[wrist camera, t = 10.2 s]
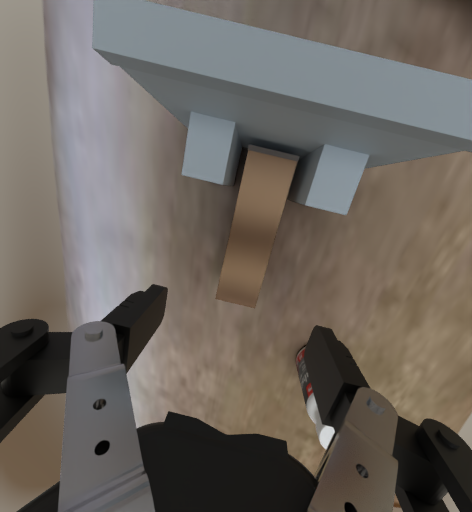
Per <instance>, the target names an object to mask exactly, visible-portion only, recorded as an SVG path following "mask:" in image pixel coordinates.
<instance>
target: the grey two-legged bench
mask: <svg viewBox="0 0 472 512" xmlns="http://www.w3.org/2000/svg"><path fill="white" fill-rule="evenodd" d="M92 48H93V49H94V50H95V51H96V52H98V53H99V54H100V55H101V56H102V57H103V58H104V59H106V60H107V61H108V62H109V63H110V64H112V65H116V66H120V67H121V68H122V69H123V70H124V71H125V72H126V73H128V74H129V75H130V76H131V77H132V78H133V79H134V80H135V81H136V82H137V83H139V84H140V85H141V86H142V87H143V88H144V89H145V90H146V91H147V92H148V93H150V94H151V95H152V96H153V97H154V98H155V99H156V100H157V101H158V102H159V103H160V104H162V105H163V106H164V107H165V108H166V109H167V110H168V111H169V112H170V113H171V114H173V115H174V116H175V117H176V118H177V119H178V120H179V121H180V122H181V123H182V124H184V125H185V126H186V127H187V128H188V134H187V141H186V148H185V154H184V161H183V168H182V175H184V176H188V177H192V178H196V179H201V180H205V181H209V182H213V183H217V184H221V185H228V186H234V182H235V177H236V173H237V168H238V164H239V159H240V155H241V150H242V147H245V148H248V146H249V144H250V145H255V146H259V147H263V148H267V149H271V150H276V151H280V152H284V153H288V154H293V155H297V156H299V160H298V163H297V166H296V170H295V173H294V177H293V180H292V183H291V187H290V190H289V194H288V197H287V199H288V200H291V201H294V202H297V203H300V204H303V205H306V206H311V207H315V208H319V209H323V210H327V211H331V212H335V213H339V214H343V215H347V212H348V210H349V207H350V205H351V202H352V199H353V197H354V194H355V192H356V189H357V186H358V184H359V181H360V179H361V176H362V173H363V171H364V169H365V168H371V167H376V166H382V165H387V164H393V163H398V162H404V161H410V160H415V159H421V158H426V157H432V156H438V155H443V154H449V153H454V152H460V151H469V152H472V80H471V79H467V78H463V77H459V76H455V75H451V74H446V73H442V72H438V71H434V70H430V69H426V68H422V67H418V66H413V65H409V64H405V63H401V62H397V61H393V60H389V59H384V58H380V57H376V56H372V55H368V54H364V53H360V52H356V51H351V50H347V49H343V48H339V47H335V46H331V45H327V44H323V43H318V42H314V41H310V40H306V39H302V38H298V37H294V36H290V35H285V34H281V33H277V32H273V31H269V30H265V29H261V28H256V27H252V26H248V25H244V24H240V23H236V22H232V21H228V20H223V19H219V18H215V17H211V16H207V15H203V14H199V13H195V12H190V11H186V10H182V9H178V8H174V7H170V6H166V5H162V4H157V3H153V2H149V1H145V0H94V4H93V42H92Z"/></svg>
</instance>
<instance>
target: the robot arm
mask: <svg viewBox="0 0 472 512" xmlns="http://www.w3.org/2000/svg"><path fill="white" fill-rule="evenodd" d="M167 292H168V289H167V287H163V286H159V285H155V284H153V285H151V286H150V287H149V288H148V289H147V290H146V291H145V292H143V291H138V292H136V293H133V294H131V295H130V296H129V297H128V298H126V299H125V301H123V302H122V303H121V304H120V305H119V306H117V307H116V308H115V309H114V310H113V311H112V312H110V313H109V314H108V315H107V316H106V317H105V318H104V319H102V320H101V321H95V322H89V323H86V324H83V325H81V326H79V327H78V328H76V329H75V330H74V331H73V332H49V326H48V324H47V323H46V322H45V321H43V320H39V319H26V320H20V321H16V322H13V323H10V324H7V325H5V326H3V327H2V328H0V443H1V442H2V440H3V439H4V438H5V437H6V436H7V435H8V434H9V433H10V432H11V431H12V430H13V429H14V427H15V426H16V425H17V424H18V423H19V422H20V421H21V420H22V419H23V418H24V417H25V416H26V414H27V413H28V412H29V411H30V410H31V409H32V408H33V407H34V406H35V404H37V403H38V402H39V400H40V399H41V398H42V397H43V396H44V395H45V394H57V393H58V394H59V393H66V404H65V418H64V432H63V448H62V461H61V475H60V481H59V482H58V483H56V484H55V485H53V486H52V487H51V488H49V489H48V490H46V491H45V492H43V493H42V494H41V495H39V496H38V497H36V498H35V499H34V500H32V501H31V502H29V503H28V504H26V505H25V506H24V507H22V508H21V509H20V510H18V511H17V512H392V510H393V503H394V495H395V494H396V496H397V498H398V501H399V503H400V506H401V508H402V510H403V512H449V510H448V509H447V507H446V505H445V503H444V501H443V500H442V498H443V497H444V496H445V495H446V494H447V493H448V492H449V494H450V496H451V498H452V499H453V501H454V502H455V504H456V506H457V508H458V509H459V511H460V512H472V450H471V449H470V447H469V446H468V445H467V444H466V442H465V441H464V440H463V439H462V438H461V437H460V436H459V435H458V434H456V433H455V432H454V431H453V430H451V429H450V428H449V427H447V426H446V425H444V424H442V423H440V422H438V421H436V420H433V419H424V420H423V422H422V423H421V425H420V426H418V425H416V424H414V423H412V422H410V421H408V420H406V419H404V418H402V417H400V416H398V414H397V412H396V410H395V408H394V407H393V405H392V404H391V403H390V402H389V401H388V400H387V399H386V398H385V397H384V396H382V395H381V394H380V393H378V392H376V391H375V390H372V389H370V387H369V385H368V383H367V382H366V380H365V378H364V376H363V375H362V373H361V371H360V369H359V367H358V366H357V364H356V362H355V360H354V359H353V357H352V355H351V353H350V352H349V350H348V349H347V348H346V347H345V346H344V345H343V344H342V343H341V341H338V340H337V338H336V336H335V335H334V333H333V331H332V329H330V328H326V327H322V326H318V325H316V326H315V327H314V328H313V331H312V333H311V336H310V338H309V341H308V343H307V345H306V348H305V351H304V362H305V365H306V369H307V372H308V376H309V379H310V383H311V386H312V390H313V394H314V397H315V401H316V404H317V408H318V411H319V415H320V418H321V422H322V425H326V426H330V427H333V428H334V431H335V433H334V434H333V436H332V438H331V440H330V443H329V445H328V447H327V449H326V451H325V453H324V456H323V458H322V460H321V462H320V464H319V466H318V469H317V471H316V473H315V475H314V476H313V475H312V474H311V472H310V471H309V470H308V469H307V468H306V467H305V466H304V465H302V464H301V463H300V462H299V461H298V460H296V459H295V458H294V457H292V456H291V455H289V454H288V451H287V442H286V441H284V440H280V439H276V438H272V437H268V436H264V435H260V434H239V435H226V434H224V433H222V432H220V431H218V430H217V429H215V428H213V427H211V426H210V425H208V424H206V423H204V422H203V421H201V420H199V419H197V418H193V417H189V416H185V415H181V414H177V413H173V412H169V411H168V414H167V416H166V419H165V422H157V423H151V424H148V425H144V426H142V427H139V428H137V429H136V424H135V419H134V413H133V408H132V402H131V397H130V391H129V386H128V381H127V375H126V374H127V372H128V371H129V369H130V368H131V366H132V365H133V363H134V362H135V360H136V359H137V358H138V356H139V355H140V353H141V352H142V350H143V349H144V347H145V346H146V344H147V343H148V341H149V340H150V339H151V337H152V336H153V334H154V333H155V331H156V330H157V328H158V327H159V325H160V324H161V322H162V319H163V317H164V312H165V306H166V299H167Z"/></svg>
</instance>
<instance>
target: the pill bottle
mask: <svg viewBox="0 0 472 512" xmlns="http://www.w3.org/2000/svg"><path fill="white" fill-rule="evenodd" d="M305 348H306V346H305V347H304V348H303V349H301V350H300V352H299V353H298V355H297V358H296V366H297V370H298V375H299V379H300V383H301V387H302V391H303V396H304V400H305V404H306V408H307V412H308V414H309V416H310V418H311V420H312V421H313V422H314V423H315V424H316V431H317V434H318V437H319V440H320V443H321V445H322V446H323V447H324V448H325V449H327V447H328V445H329V443H330V440H331V438H332V436H333V434H334V433H335V431H334V428H333V427H330V426H326V425H322V422H321V418H320V415H319V411H318V408H317V404H316V401H315V397H314V394H313V390H312V386H311V383H310V379H309V376H308V372H307V369H306V365H305V362H304V351H305Z"/></svg>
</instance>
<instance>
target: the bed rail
mask: <svg viewBox="0 0 472 512" xmlns="http://www.w3.org/2000/svg"><path fill="white" fill-rule="evenodd" d="M298 160H299V156H297V155H293V154H288V153H284V152H280V151H276V150H271V149H267V148H263V147H259V146H255V145H250V144H249V146H248V154H247V158H246V163H245V167H244V172H243V176H242V181H241V185H240V190H239V194H238V199H237V203H236V208H235V212H234V217H233V221H232V226H231V230H230V235H229V239H228V244H227V248H226V253H225V257H224V262H223V266H222V271H221V275H220V280H219V284H218V289H217V294H216V298H215V299H218V300H222V301H226V302H231V303H235V304H239V305H243V306H247V307H251V308H255V306H256V303H257V299H258V296H259V292H260V289H261V285H262V282H263V279H264V275H265V272H266V268H267V265H268V261H269V258H270V254H271V251H272V247H273V244H274V240H275V237H276V233H277V230H278V226H279V223H280V219H281V216H282V212H283V209H284V206H285V202H286V199H287V195H288V192H289V188H290V185H291V181H292V178H293V174H294V171H295V167H296V164H297V162H298Z"/></svg>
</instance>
